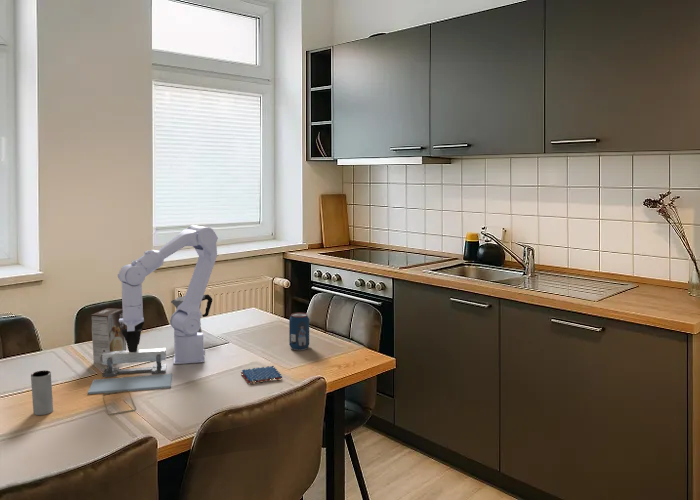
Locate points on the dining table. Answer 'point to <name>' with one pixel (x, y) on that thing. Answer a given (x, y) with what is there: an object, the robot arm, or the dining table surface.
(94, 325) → the coffee box
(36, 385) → the planter
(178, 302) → the coffeepot
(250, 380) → the woven mat
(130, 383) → the mat
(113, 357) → the rail
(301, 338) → the soda can
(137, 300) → the robot arm
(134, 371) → the gray bar clamp
